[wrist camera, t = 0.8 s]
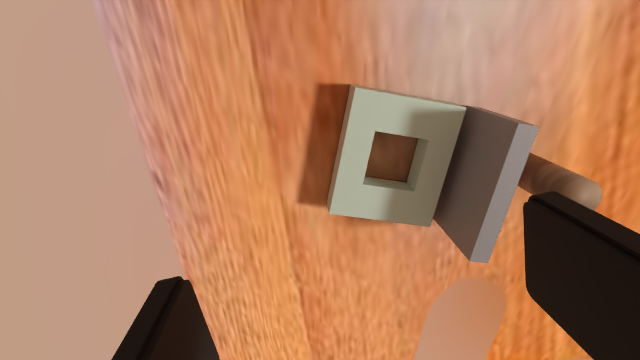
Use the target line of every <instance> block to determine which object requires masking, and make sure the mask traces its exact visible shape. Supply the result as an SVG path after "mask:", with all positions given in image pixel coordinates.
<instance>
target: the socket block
mask: <svg viewBox="0 0 640 360" xmlns="http://www.w3.org/2000/svg"><path fill="white" fill-rule="evenodd" d="M465 111H466V107H463V106H461V105H458V104H455V103H450V102H444V101H439V100H433V99H428V98H422V97H417V96H411V95H406V94H400V93H395V92H389V91H384V90H378V89H373V88H367V87H362V86H356V85H350V90H349V95H348V100H347V105H346V110H345V115H344V120H343V125H342V129H341V134H340V139H339V144H338V149H337V154H336V159H335V164H334V169H333V174H332V179H331V184H330V189H329V193H328V198H327V207H328V211H329V214H335V215H343V216H350V217H358V218H366V219H373V220H381V221H388V222H396V223H404V224H411V225H419V226H426V227H430V225H431V222H432V219H433V215H434V212H435V209H436V206H437V202H438V199H439V196H440V193H441V189H442V186H443V183H444V180H445V176H446V173H447V170H448V167H449V163H450V160H451V157H452V154H453V150H454V147H455V144H456V141H457V137H458V134H459V131H460V128H461V124H462V121H463V118H464V115H465ZM375 131H377V132H383V133H390V134H396V135H402V136H408V137H414V138H419V139H418V142H417V146H416V149H415V153H414V157H413V160H412V164H411V168H410V171H409V175H408V179H407V182H399V181H393V180H386V179H379V178H372V177H365V173H366V169H367V164H368V160H369V156H370V151H371V147H372V143H373V139H374V134H375Z"/></svg>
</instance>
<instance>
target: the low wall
mask: <svg viewBox="0 0 640 360" xmlns="http://www.w3.org/2000/svg"><path fill="white" fill-rule="evenodd" d="M538 129H539V127H538V126H535V125H532V124H529V123H526V122H523V121H520V120H517V119H514V118H511V117H508V116H504V115H501V114H498V113H495V112H492V111H489V110H486V109H483V108H477V107H472V106H467V107H466V111H465V115H464V118H463V121H462V124H461V128H460V131H459V134H458V137H457V141H456V144H455V147H454V150H453V154H452V157H451V160H450V163H449V167H448V170H447V173H446V176H445V180H444V183H443V186H442V189H441V193H440V196H439V199H438V202H437V206H436V209H435V212H434V215H433V219H434V220H435V221H436V222H437V223H438V224H439V226H440V227H441V228H442V229H443V230H444V231H445V233H446V234H447V235H448V236H449V237H450V239H451V240H452V241H453V242H454V243H455V244H456V246H457V247H458V248H459V249H460V250H461V252H462V253H463V254H464V255H465V256H466V257H467V259H468V260H469V261H474V262H482V263H488V262H489V259H490V256H491V254H492V251H493V248H494V246H495V243H496V241H497V238H498V235H499V233H500V230H501V227H502V225H503V222H504V219H505V217H506V214H507V211H508V209H509V206H510V203H511V201H512V198H513V195H514V193H515V190H516V187H517V185H518V182H519V179H520V177H521V174H522V171H523V169H524V166H525V163H526V161H527V158H528V156H529V153H530V150H531V148H532V145H533V142H534V140H535V137H536V134H537V132H538Z"/></svg>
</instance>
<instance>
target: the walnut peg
mask: <svg viewBox="0 0 640 360" xmlns="http://www.w3.org/2000/svg"><path fill="white" fill-rule="evenodd" d="M517 186H519V187H521V188H522V189H524V190H526V191H527V192H529V193H530V194H532V195H536V194H540V193H545V192H549V191H556V192H558V193H560V194H562V195H564V196H566V197H568V198H570V199H572V200H574V201H575V202H577V203H579V204H581V205H583V206H585V207H587V208H589V209H591V210H593V211H594V210H595V209H596V208H597V206H598V205H599V203H600V201H601V198H602V190H601V187H600V186H599V184H598V183H596V182H595V181H592V180H590V179H588V178H586V177H583V176H581V175H579V174H577V173H574V172H572V171H570V170H568V169H565V168H563V167H561V166H559V165H556V164H554V163H552V162H550V161H547V160H545V159H543V158H541V157H538V156H536V155H534V154H532V153H529V156H528V158H527V161H526V163H525V166H524V169H523V171H522V174H521V177H520V179H519V182H518V185H517Z"/></svg>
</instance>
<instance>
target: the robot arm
mask: <svg viewBox="0 0 640 360" xmlns="http://www.w3.org/2000/svg"><path fill="white" fill-rule="evenodd" d="M523 216H524V245H525V275H526V288H527V291H528V293H529V295H530V296H531V297H532V299H533V300H534V301H535V302H536V303H537V304H538V305H539V306H540V307H541V308H542V309H543V310H544V311H545V312H546V313H547V314H548V315H549V316H550V317H551V318H552V319H553V320H554V321H555V322H556V323H557V324H558V325H559V326H560V327H561V328H562V329H563V330H564V331H565V332H566V333H567V334H568V335H569V336H570V337H571V338H572V339H573V340H574V341H576V342H577V343H578V344H579V345H580V346H581V347H582V348H583V349H584V350H585V351H586V352H587V353H588V354H589V355H590V356H591V357H592V358H593V359H594V360H640V234H638V233H636V232H634V231H632V230H630V229H628V228H627V227H625V226H623V225H621V224H619V223H617V222H615V221H613V220H611V219H609V218H607V217H605V216H603V215H601V214H599V213H597V212H595V211H593V210H591V209H589V208H587V207H585V206H583V205H581V204H579V203H577V202H575V201H574V200H572V199H570V198H568V197H566V196H564V195H562V194H560V193H558V192H556V191H549V192H545V193H540V194H536V195H532V196H530V197H529V199H528V202H525V203H524V206H523ZM112 360H220V359H219V355H218V352H217V350H216V347H215V345H214V342H213V339H212V337H211V334H210V331H209V329H208V326H207V324H206V321H205V318H204V316H203V313H202V311H201V308H200V305H199V303H198V300H197V298H196V295H195V292H194V290H193V287H192V285H191V282H190V281H189V280H183V278H182V277H180V276H177V277H173V278H169V279H164V280H160V281H158V282H157V283H156V284H155V286H154V288H153V289H152V291H151V293H150V294H149V296H148V298H147V300H146V302H145V303H144V305H143V307H142V308H141V310H140V312H139V313H138V315H137V317H136V319H135V320H134V322H133V324H132V325H131V327H130V329H129V331H128V332H127V334H126V336H125V337H124V339H123V341H122V343H121V344H120V346H119V348H118V349H117V351H116V353H115V355H114V356H113V358H112Z"/></svg>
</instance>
